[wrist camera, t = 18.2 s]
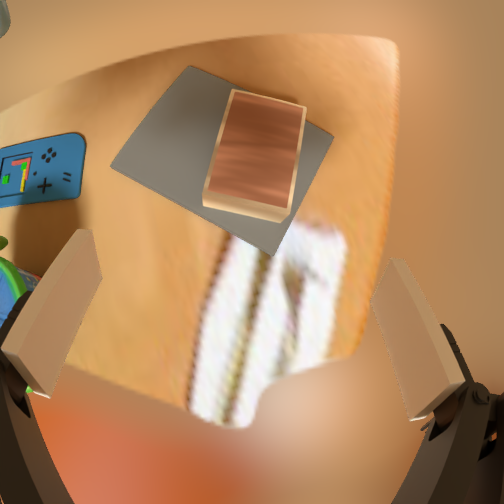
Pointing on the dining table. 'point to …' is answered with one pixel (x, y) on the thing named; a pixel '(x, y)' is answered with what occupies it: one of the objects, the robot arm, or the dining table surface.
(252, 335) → the dining table surface
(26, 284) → the snack cup
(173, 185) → the mat
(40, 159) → the handheld gaming device
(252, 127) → the birch board
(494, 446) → the robot arm
